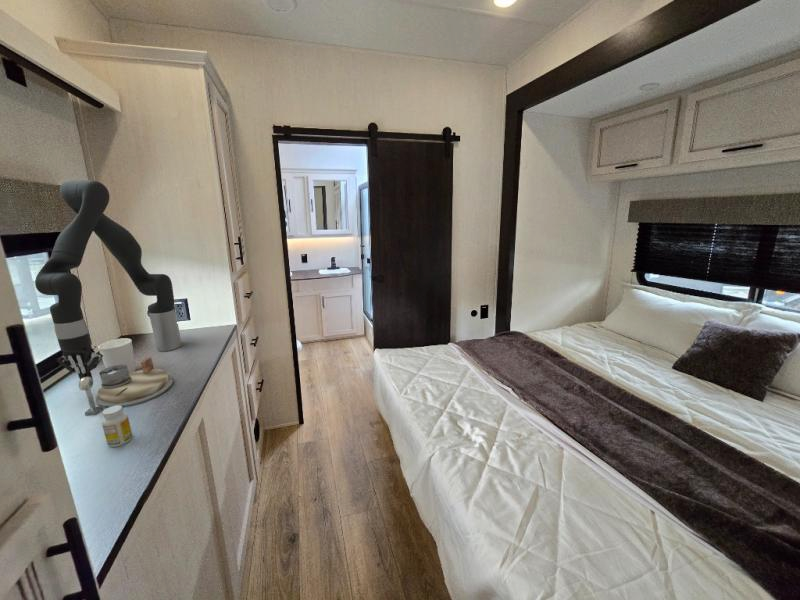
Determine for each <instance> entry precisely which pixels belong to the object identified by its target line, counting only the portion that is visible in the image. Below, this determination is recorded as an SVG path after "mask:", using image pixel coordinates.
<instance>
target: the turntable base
mask: <svg viewBox="0 0 800 600" xmlns="http://www.w3.org/2000/svg"><path fill="white" fill-rule="evenodd" d="M168 377H169V381H168V383H167V384H166V385H165V386H164V387H163V388H161V389H160V390H158V391H156V392H154V393H152V394H150V395H148V396H145V397H142V398H139V399H136V400H132V401H127V402H120V403H107V402H103V401H101V400H100V398H99V395H98V394H97V396H95V402H96V405H97V407H98V406H103V409H107V408H109V407H112V406H117V405H119V406H122V408H127V407H131V406H136V405H140V404H143V403H146V402H148V401H151V400H153V399H155V398H158V397H160V396H161V395H162V394H164V393H166V392H168V391H169V389H170V388H171V387H172V386H173V383H174V381H173V380H174V379H173V377H172V376H171V375H170V374H168Z"/></svg>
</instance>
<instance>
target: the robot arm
mask: <svg viewBox="0 0 800 600" xmlns="http://www.w3.org/2000/svg"><path fill="white" fill-rule="evenodd" d="M59 187H60V189H59V191H60V195H61V197H62V199H63V201H64V202H65V203H66V204H67V206H68V207H69V208H70V209H71V210H72V211H73V212H74V213H75V214H76V216H75V217H74V218H73V219H72V220H71V222H70V223H69V224H68V225H67V226H66V227H65V228H64V229H62V231H61V232H60V233H59V235H57V237H56V238H57V239H56V240H55V243H54V245H53V249H52V251H51V255H50V257H49V258H48V260H46V262H45V263H44V264H43V266H42V267H41V269H40V270H39V271H38V272H37V275H36V276H35V279H34V280H35V281H34V284H35V288H36V290H37V292H38V293H40V294H42V295H45V296H58V302H55V303H53V304H51V305H50V307H49V311H50V315H51V318H52V321H53V325H54V327H53V328H54V332H55V336H56V340H57V342H58V343H57V344H58V346H59V349H60V351H62V356H60V357H59V358H57V359H56V363H59V365H61V366H62V367H64V368H65V369H66V370H67V371H68V372H70V373H76V374H77V375H78V378H79V379H78V380H79V381H80V380H81V379H82V378H83V377H91V378H92V379H93V375H92V372H91V371H93V370H95V369H96V368H97V367H98V365H99V364H100V362H101V360H102V357H103V355H102V354H100V353H99V354H98V353H96V352H95V350H94V349H93V348H92V347H93V346H92V344H93V341H92V338H91V336H90V335H91V334H90V332H89V328H88V324H87V322H86V320H85V317H84V313H83V311H82V307H81V306H82V305H81V303H82V293H83V291H82V290H83V289H82V287H83V286H82V282H81V280H80V279H79V277H78V276H77V275H75V274H74V273H72V272H69V271H71V270H72V269H73V270H74V269H75V268H78V267H80V266H81V264H82V261H83V259H84V255H85V252H86V248H87V245H88V242H89V241H90V238H91V235H92V234H93V233H94V234H95V235H96V236H97V237H98V239H99V240H100V241H101V242H102V243H103V245H104V246H105V247H106V249H107V250H108V251H109V252H110V254H112V256H113V257H114V258H115V259H116V260H117V262H118V263H119V264H120V265H121V267H122V268H123V269H124V270H125V272H126V274H127V275H128V276H129V278H130V279H131V281H132V282H133V284H134V287H136V289H137V290H138V291H139V292H140V293H141V294H142V295H144V296H147V297H149V296H150V297H152V296H153V297H156V302H153V303H151V304H149V305H148V306H147V312H148V316H149V319H150V325H151V329H152V334H153V339H154V342H155V346H156V347H155V348H156V351H158V352H169V351H173V350H176V349H179V348H181V346H182V338H181V333H180V328H179V324H178V321H177V315H176V312H175V311H176V310H175V296H174V290H173V283H172V279H171V277H170V276H169V275H167V274H164V273H149V272H148V271H147V270H146V269H145V267H144V266H143V264H142V255H143V252H142V248H141V245H140V243H139V242H138V241H137V239H136V238H135V236H134V235H133V234H132V233H131V232H130V231H129V230H128V229H126V227H124V226H122V225H120V224H119V223H117V222H116V221H115V220H113V219H111V218H110V217H108V216H107V215H106V214H105V213H104V212H105V211H106V209H107V207H108V205H109V202H110V198H111V197H110V191H109V189H108V188H107V186H106V185H105V184H103V183H102V182H100V181H98V180H91V179H86V180H85V179H80V180H79V179H77V180H75V179H72V180H71V179H70V180H65V181H63V182H62V183H61V185H60V186H59Z"/></svg>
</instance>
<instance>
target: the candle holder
mask: <svg viewBox="0 0 800 600" xmlns="http://www.w3.org/2000/svg"><path fill="white" fill-rule="evenodd" d="M133 347H134V346H133V340H132V339H131V338H127V337H126V338H123V337H122V338H116V339H111V340H109V341H105V342H103V343H101V344H98V346H97V349H98V351H99V354H102V355H103V357H102V359H101V360H102V362H103V366H104V369H106V368H108V367H111V366H116V365H126V366H127V368H128V372H129V373H131V372H135V371H137V366H136V361H135V352H134V348H133Z"/></svg>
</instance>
